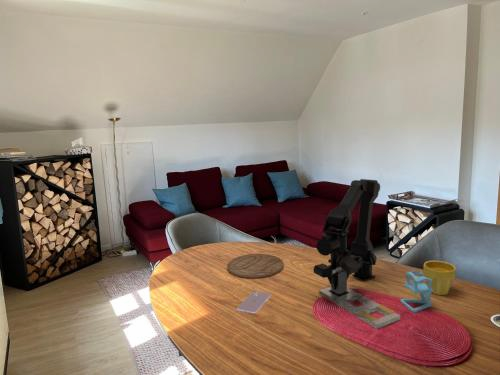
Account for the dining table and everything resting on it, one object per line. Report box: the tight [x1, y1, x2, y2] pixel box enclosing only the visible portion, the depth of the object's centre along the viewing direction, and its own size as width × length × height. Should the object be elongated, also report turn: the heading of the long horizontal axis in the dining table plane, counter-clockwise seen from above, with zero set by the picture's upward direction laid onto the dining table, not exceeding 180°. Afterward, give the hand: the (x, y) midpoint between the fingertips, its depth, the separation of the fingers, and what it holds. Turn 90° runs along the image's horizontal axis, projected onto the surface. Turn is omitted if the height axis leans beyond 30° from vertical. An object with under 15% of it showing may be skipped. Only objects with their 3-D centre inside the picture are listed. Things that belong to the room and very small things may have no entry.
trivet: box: [227, 253, 285, 280], centre depth 168 cm, size 25×25×2 cm
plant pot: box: [422, 260, 457, 296], centre depth 137 cm, size 10×10×10 cm
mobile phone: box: [236, 290, 271, 314], centre depth 136 cm, size 8×1×15 cm
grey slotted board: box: [318, 286, 401, 330], centre depth 130 cm, size 10×28×2 cm, turn 28°
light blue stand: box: [400, 270, 433, 313], centre depth 127 cm, size 8×8×12 cm
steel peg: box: [330, 268, 348, 297], centre depth 137 cm, size 4×4×10 cm
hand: (338, 288), depth 137 cm, fingers closed on steel peg, 4 cm apart
